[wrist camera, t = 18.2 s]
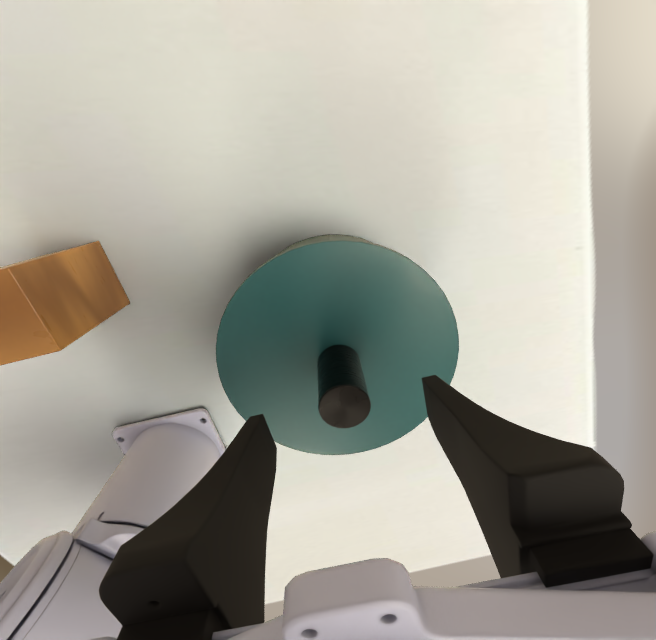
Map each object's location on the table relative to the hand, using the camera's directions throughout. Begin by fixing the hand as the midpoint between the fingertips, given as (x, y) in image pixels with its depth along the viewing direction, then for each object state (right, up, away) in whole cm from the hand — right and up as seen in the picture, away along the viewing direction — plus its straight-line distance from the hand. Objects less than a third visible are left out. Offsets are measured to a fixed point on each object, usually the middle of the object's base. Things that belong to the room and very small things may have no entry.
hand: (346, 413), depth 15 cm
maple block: (-17, +7, +8) cm, 20 cm away
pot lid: (0, +2, +5) cm, 5 cm away
